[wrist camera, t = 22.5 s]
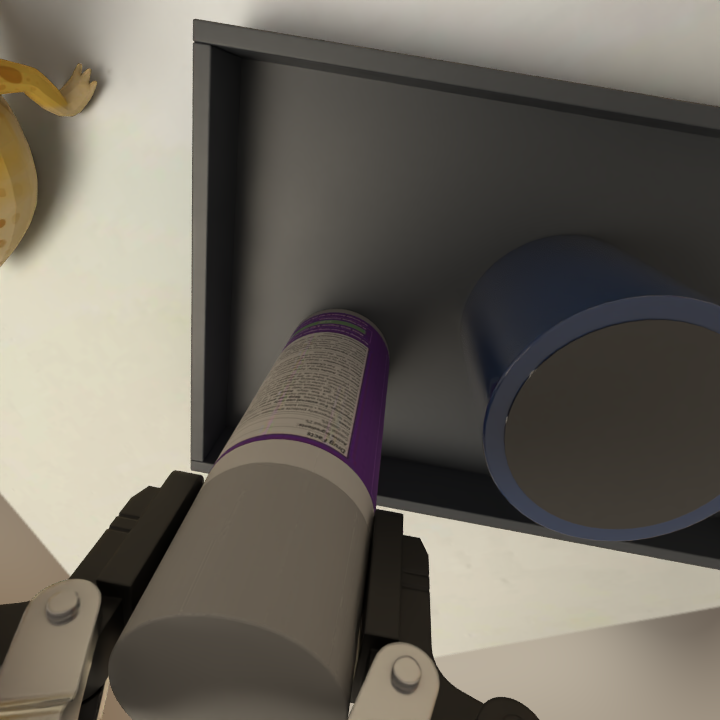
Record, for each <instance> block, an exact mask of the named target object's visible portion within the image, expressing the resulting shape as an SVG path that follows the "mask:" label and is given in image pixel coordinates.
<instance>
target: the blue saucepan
mask: <svg viewBox="0 0 720 720" xmlns="http://www.w3.org/2000/svg"><path fill="white" fill-rule="evenodd" d="M460 347H461V352H462V356H463V361H464V365H465V370H466V375H467V379H468V384H469V388H470V393H471V398H472V402H473V407H474V411H475V416H476V421H477V425H478V430H479V435H480V439H481V444H482V448H483V453H484V457H485V461H486V465H487V468H488V470H489V472H490V475H491V477H492V479H493V481H494V483H495V484H496V486H497V487H498V489H499V491H500V492H501V493H502V494H503V496H504V497H505V498H506V499H507V500H508V501H509V503H510V504H512V505H513V506H514V507H515V508H516V509H517V510H518V511H520V512H521V513H522V514H523V515H525V516H526V517H528V518H529V519H531V520H532V521H534V522H536V523H538V524H540V525H542V526H544V527H546V528H548V529H550V530H553V531H555V532H558V533H561V534H564V535H568V536H572V537H576V538H580V539H587V540H595V541H614V542H615V541H633V540H640V539H647V538H652V537H656V536H661V535H665V534H669V533H672V532H675V531H678V530H681V529H684V528H686V527H689V526H691V525H693V524H696V523H698V522H700V521H702V520H704V519H706V518H708V517H710V516H712V515H713V514H715V513H717V512H719V511H720V303H718V302H716V301H714V300H712V299H711V298H709V297H707V296H705V295H704V294H702V293H700V292H698V291H696V290H695V289H693V288H691V287H689V286H688V285H686V284H684V283H682V282H680V281H679V280H677V279H675V278H673V277H672V276H670V275H668V274H666V273H664V272H663V271H661V270H659V269H657V268H656V267H654V266H652V265H650V264H648V263H647V262H645V261H643V260H641V259H640V258H638V257H636V256H634V255H632V254H631V253H629V252H627V251H625V250H624V249H622V248H620V247H618V246H616V245H615V244H612V243H610V242H608V241H605V240H603V239H599V238H595V237H591V236H584V235H557V236H550V237H545V238H542V239H538V240H534V241H532V242H529V243H527V244H524V245H522V246H520V247H518V248H516V249H514V250H513V251H511V252H509V253H507V254H506V255H505V256H503V257H502V258H500V259H499V260H498V261H496V262H495V263H494V264H493V265H492V266H491V267H490V268H489V269H488V270H487V271H486V272H485V273H484V274H483V276H482V277H481V278H480V279H479V280H478V282H477V283H476V285H475V286H474V288H473V289H472V291H471V293H470V295H469V297H468V299H467V301H466V303H465V306H464V309H463V312H462V317H461V322H460Z"/></svg>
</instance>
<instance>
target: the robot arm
mask: <svg viewBox="0 0 720 720" xmlns="http://www.w3.org/2000/svg"><path fill="white" fill-rule="evenodd" d="M203 484H204V478H203V476H202V475H198V474H192V473H187V472H182V471H176V470H175V471H173V472H172V473H171V474H170V475H169V477H168V478H167V480H166V481H165V482H164V484H163V485H162V487H161V488H157V487H152V486H148V487H147V488H145V489H144V490H142V491H141V492H139V493H138V494H136V495H135V496H133V497H132V498H131V499H130V500H129V501H128V503H127V504H126V505H125V506H124V508H123V509H122V510H121V512H120V513H119V516H117V517H116V518H115V519H114V521H113V522H112V523H111V525H110V527H109V529H107V530H106V531H105V533H104V534H103V535H102V536H101V538H100V539H99V540H98V542H97V543H96V544H95V546H94V547H93V548H92V549H91V551H90V552H89V553H88V555H87V556H86V557H85V559H84V560H83V561H82V562H81V564H80V565H79V566H78V568H77V569H76V570H75V572H74V573H73V574H72V575H71V577H70V578H69V579H68V580H64V581H60V582H57V583H55V584H52V585H51V586H48V587H46V588H45V589H43V590H42V591H40V592H39V593H38V594H37V595H36V596H35V597H34V598H33V599H32V600H31V601H28V602H22V603H14V604H3V605H0V720H102V716H103V711H104V707H105V702H106V697H107V692H108V688H109V682H110V681H109V675H108V665H109V658H110V655H111V652H112V650H113V648H114V646H115V644H116V642H117V641H118V639H119V637H120V635H121V633H122V631H123V630H124V628H125V626H126V624H127V622H128V621H129V619H130V617H131V615H132V613H133V611H134V610H135V608H136V606H137V604H138V602H139V601H140V599H141V597H142V595H143V593H144V591H145V590H146V588H147V586H148V584H149V582H150V580H151V579H152V577H153V575H154V573H155V571H156V570H157V568H158V566H159V564H160V562H161V560H162V559H163V557H164V555H165V553H166V551H167V549H168V548H169V546H170V544H171V542H172V540H173V539H174V537H175V535H176V533H177V531H178V529H179V528H180V526H181V524H182V522H183V520H184V518H185V517H186V515H187V513H188V511H189V509H190V508H191V506H192V504H193V502H194V500H195V498H196V497H197V495H198V493H199V491H200V489H201V487H202V486H203ZM429 588H430V587H429V559H428V554H427V552H426V549H425V547H424V545H423V543H422V541H421V539H420V538H416V537H411V536H406V535H403V514H400V513H395V512H390V511H385V510H379V509H376V511H375V515H374V520H373V529H372V537H371V546H370V554H369V562H368V570H367V578H366V586H365V594H364V601H363V609H362V616H361V624H360V631H359V639H358V646H357V654H356V661H355V669H354V676H353V684H352V691H351V698H350V703H354V705H353V707H352V710H351V712H350V714H349V716H348V719H347V720H539V719H538V718H537V716H536V715H535V714H534V713H533V712H532V711H531V710H530V709H529V708H528V707H526V706H525V705H523V704H522V703H520V702H518V701H516V700H514V699H511V698H506V697H496V698H492V699H490V700H488V701H487V702H486V703H484V704H483V703H482V702H480V701H478V700H476V699H474V698H473V697H471V696H469V695H467V694H466V693H464V692H462V691H460V690H459V689H457V688H456V687H454V686H453V685H452V684H451V683H449V681H447V679H446V678H445V677H444V676H443V675H442V673H441V672H440V670H439V669H438V667H437V666H436V663H435V660H434V657H433V654H432V645H431V616H430V592H429Z"/></svg>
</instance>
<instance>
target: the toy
mask: <svg viewBox="0 0 720 720" xmlns="http://www.w3.org/2000/svg"><path fill="white" fill-rule="evenodd" d="M90 74H91V69H89V68H88V69H87V70H86V71H85V72H84V73H83V74H82V64H78V65H77V66H76V68H75V70H74V72H73V74H72V76H71V78H70V79H69V80H68V82H67V83H66V84H65V85H64V86H63V87H62V88H61V89H60V90H58V89H57V88H56V87H55V86H54V85H53V84H52V83H51V82H50V81H49V80H48V79H47V78H46V77H45V76H44V75H43V74H42V73H41V72H39V71H38V70H37V69H35V68H33V67H30V66H27V65H23V64H19V63H15V62H11V61H8V60H4V59H0V267H1V266H2V265H3V263H4V262H5V261H6V260H7V258H8V257H9V256H10V255H11V254H12V252H13V251H14V250H15V248H16V247H17V245H18V244H19V243H20V241H21V239H22V238H23V236H24V234H25V232H26V231H27V229H28V227H29V226H30V223H31V220H32V217H33V214H34V211H35V208H36V205H37V185H38V180H37V173H36V168H35V165H34V161H33V157H32V154H31V150H30V147H29V145H28V142H27V140H26V138H25V136H24V133H23V131H22V129H21V127H20V125H19V122H18V120H17V119H16V117H15V115H14V113H13V111H12V110H11V108H10V106H9V104H8V102H7V101H6V100H5V99H4V98H3V97H2V95H1V94H7V93H18V92H24V93H25V95H27V96H28V97H29V98H30V99H32V100H33V101H34V102H35V103H37V104H38V105H39V106H41V107H42V108H43V109H45V110H47V111H49V112H51V113H54V114H56V115H58V116H74V115H76V114H78V113H80V112H81V111H82V110H83V108H84V107H85V106H86V105H87V103H88V102H89V100H90V99H91V97H92V95H93V93H94V91H95V88H96V86H97V81H92V82H91V83H90V81H89V80H90Z"/></svg>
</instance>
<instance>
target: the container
mask: <svg viewBox="0 0 720 720" xmlns="http://www.w3.org/2000/svg"><path fill="white" fill-rule="evenodd" d="M389 362H390V356H389V349H388V345H387V342H386V340H385V338H384V336H383V334H382V333H381V331H380V330H379V329H378V328H377V326H376V325H375V324H374V323H372V322H371V321H370V320H369V319H367V318H366V317H364V316H362V315H360V314H358V313H356V312H353V311H349V310H344V309H328V310H323V311H320V312H317V313H315V314H312V315H311V316H309V317H307V318H306V319H305V320H303V321H302V322H301V323H300V324H299V326H298V327H297V328H296V330H295V331H294V332H293V334H292V335H291V337H290V339H289V340H288V342H287V344H286V345H285V347H284V349H283V350H282V352H281V354H280V355H279V357H278V359H277V360H276V362H275V364H274V365H273V367H272V369H271V370H270V372H269V374H268V375H267V377H266V379H265V380H264V382H263V384H262V385H261V387H260V389H259V390H258V392H257V394H256V395H255V397H254V399H253V400H252V402H251V404H250V405H249V407H248V409H247V410H246V412H245V414H244V415H243V417H242V419H241V420H240V422H239V424H238V426H237V427H236V429H235V431H234V432H233V434H232V436H231V437H230V439H229V441H228V442H227V444H226V446H225V447H224V449H223V451H222V452H221V454H220V456H219V457H218V459H217V461H216V462H215V464H214V466H213V467H212V469H211V471H210V472H209V474H208V476H207V478H206V480H205V482H204V484H203V486H202V487H201V489H200V491H199V493H198V495H197V497H196V498H195V500H194V502H193V504H192V506H191V508H190V509H189V511H188V513H187V515H186V517H185V518H184V520H183V522H182V524H181V526H180V528H179V529H178V531H177V533H176V535H175V537H174V539H173V540H172V542H171V544H170V546H169V548H168V549H167V551H166V553H165V555H164V557H163V559H162V560H161V562H160V564H159V566H158V568H157V570H156V571H155V573H154V575H153V577H152V579H151V580H150V582H149V584H148V586H147V588H146V590H145V591H144V593H143V595H142V597H141V599H140V601H139V602H138V604H137V606H136V608H135V610H134V611H133V613H132V615H131V617H130V619H129V621H128V622H127V624H126V626H125V628H124V630H123V631H122V633H121V635H120V637H119V639H118V641H117V642H116V644H115V646H114V648H113V650H112V652H111V655H110V658H109V665H108V675H109V681H110V685H111V688H112V691H113V693H114V695H115V697H116V699H117V701H118V702H119V704H120V705H121V707H122V708H123V709H124V710H125V712H126V713H127V714H128V715H129V716H130V717H131V718H132V720H347V719H348V713H349V706H350V698H351V691H352V684H353V676H354V669H355V661H356V654H357V646H358V639H359V631H360V624H361V616H362V609H363V601H364V594H365V586H366V578H367V570H368V562H369V554H370V546H371V537H372V529H373V520H374V515H375V511H376V501H377V491H378V480H379V470H380V459H381V449H382V438H383V428H384V417H385V407H386V396H387V386H388V376H389Z"/></svg>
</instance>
